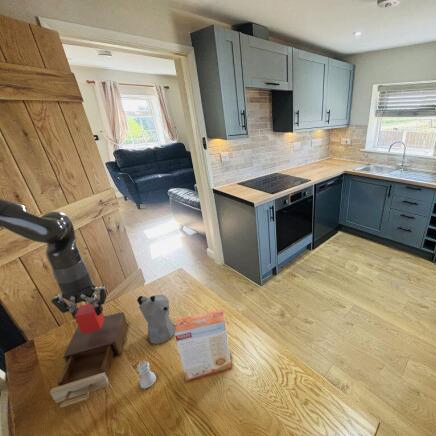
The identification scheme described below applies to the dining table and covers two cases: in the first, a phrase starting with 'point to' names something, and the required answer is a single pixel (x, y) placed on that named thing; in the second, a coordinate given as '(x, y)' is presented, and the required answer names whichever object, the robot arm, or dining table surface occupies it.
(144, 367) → the rook chess piece
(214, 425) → the dining table surface
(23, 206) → the robot arm
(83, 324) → the block
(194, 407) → the dining table surface
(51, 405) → the dining table surface
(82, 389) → the drawer
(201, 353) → the cracker box
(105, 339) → the cabinet
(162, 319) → the grey upright piece
